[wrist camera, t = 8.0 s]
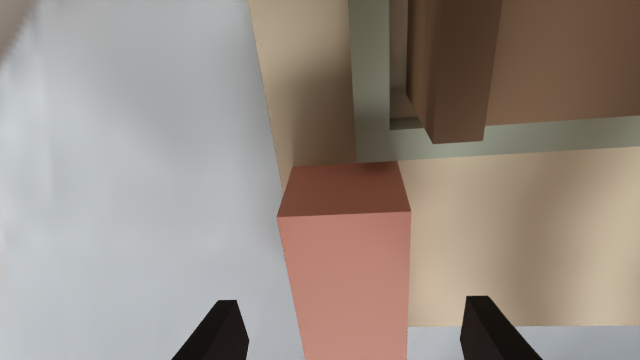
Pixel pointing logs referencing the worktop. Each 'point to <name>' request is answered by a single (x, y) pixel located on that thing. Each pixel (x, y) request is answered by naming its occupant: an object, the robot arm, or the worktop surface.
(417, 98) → the brown u-shaped block
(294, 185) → the pink rectangular block
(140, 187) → the worktop surface
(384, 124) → the jig
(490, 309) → the robot arm
